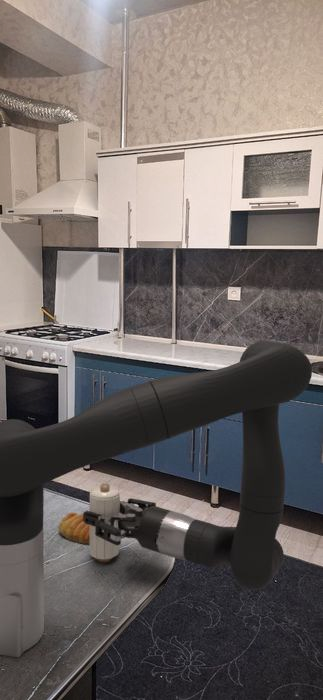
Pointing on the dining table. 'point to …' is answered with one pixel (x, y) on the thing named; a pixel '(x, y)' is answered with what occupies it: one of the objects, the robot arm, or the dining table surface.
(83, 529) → the pastry
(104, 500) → the ribbed lidded canister
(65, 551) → the dining table surface
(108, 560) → the salmon brown knob
